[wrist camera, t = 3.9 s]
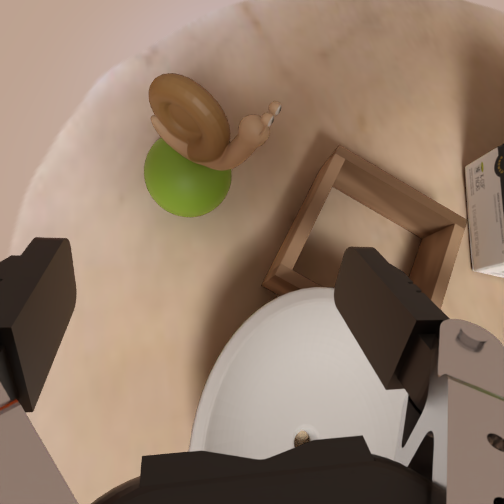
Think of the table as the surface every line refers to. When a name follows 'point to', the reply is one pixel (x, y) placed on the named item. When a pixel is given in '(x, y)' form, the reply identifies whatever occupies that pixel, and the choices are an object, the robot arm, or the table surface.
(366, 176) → the brown wooden square tray
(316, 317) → the dish
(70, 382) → the table surface
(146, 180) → the snail figurine
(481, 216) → the tea box
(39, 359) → the robot arm
